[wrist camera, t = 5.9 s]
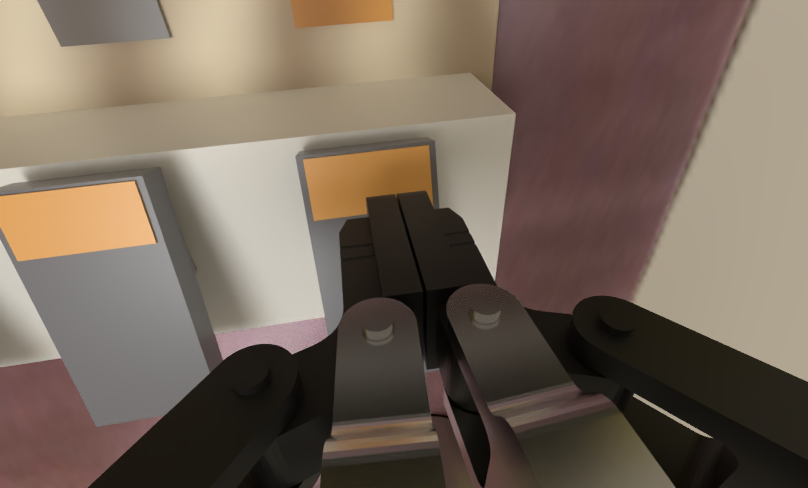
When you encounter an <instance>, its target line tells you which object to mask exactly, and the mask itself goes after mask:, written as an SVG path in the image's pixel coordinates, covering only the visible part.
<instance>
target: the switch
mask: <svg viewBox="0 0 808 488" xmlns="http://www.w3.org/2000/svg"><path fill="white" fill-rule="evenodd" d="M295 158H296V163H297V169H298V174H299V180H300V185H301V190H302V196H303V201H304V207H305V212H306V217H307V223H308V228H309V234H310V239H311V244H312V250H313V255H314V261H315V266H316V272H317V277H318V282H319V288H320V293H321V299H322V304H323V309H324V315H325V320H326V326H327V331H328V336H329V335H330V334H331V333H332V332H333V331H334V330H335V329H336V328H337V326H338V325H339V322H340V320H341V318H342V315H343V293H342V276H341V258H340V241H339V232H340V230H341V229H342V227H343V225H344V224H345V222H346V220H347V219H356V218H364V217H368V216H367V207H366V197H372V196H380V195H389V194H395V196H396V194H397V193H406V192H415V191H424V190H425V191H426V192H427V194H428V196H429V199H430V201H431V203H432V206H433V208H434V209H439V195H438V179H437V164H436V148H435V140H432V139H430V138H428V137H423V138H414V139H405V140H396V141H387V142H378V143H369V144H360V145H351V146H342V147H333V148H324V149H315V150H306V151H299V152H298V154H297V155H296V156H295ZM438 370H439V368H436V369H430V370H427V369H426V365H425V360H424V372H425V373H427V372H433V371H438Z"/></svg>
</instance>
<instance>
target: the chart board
mask: <svg viewBox="0 0 808 488" xmlns="http://www.w3.org/2000/svg"><path fill="white" fill-rule="evenodd" d="M498 10H499V0H0V117H11V116H21V115H32V114H42V113H52V112H63V111H73V110H84V109H94V108H105V107H115V106H126V105H136V104H146V103H157V102H167V101H178V100H188V99H199V98H209V97H220V96H230V95H241V94H251V93H261V92H272V91H282V90H293V89H303V88H314V87H324V86H335V85H345V84H355V83H366V82H376V81H387V80H397V79H408V78H418V77H429V76H439V75H449V74H460V73H472V74H473V75H474V76H475V77H476V78H477V79H478V80H479V81H480V82H482V83H483V84H484V85H485V86H486V87H487V88H488V89H489V90H490V91H492V79H493V68H494V56H495V45H496V33H497V21H498Z"/></svg>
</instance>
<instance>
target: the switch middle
mask: <svg viewBox="0 0 808 488" xmlns="http://www.w3.org/2000/svg"><path fill="white" fill-rule="evenodd" d="M0 240H1V242H2V244H3V246H4V248H5V249H6V251H7V253H8V255H9V257H10V259H11V261H12V263H13V265H14V267H15V269H16V271H17V273H18V275H19V277H20V279H21V281H22V283H23V284H24V286H25V288H26V290H27V292H28V294H29V296H30V298H31V300H32V302H33V304H34V306H35V308H36V310H37V312H38V314H39V316H40V318H41V320H42V321H43V323H44V325H45V327H46V329H47V331H48V333H49V335H50V337H51V339H52V341H53V343H54V345H55V347H56V349H57V351H58V353H59V355H60V356H61V358H62V360H63V362H64V364H65V366H66V368H67V370H68V372H69V374H70V376H71V378H72V380H73V382H74V384H75V386H76V388H77V390H78V391H79V393H80V395H81V397H82V399H83V401H84V403H85V405H86V407H87V409H88V411H89V413H90V415H91V417H92V419H93V421H94V423H95V425H96V427H99V426H105V425H111V424H117V423H122V422H128V421H134V420H140V419H145V418H151V417H157V416H163V415H166V414H167V413H168V412H169V411H170V410H171V409H172V408H173V407H174V406H175V405H176V404H178V403H179V402H180V401H181V400H182V399H183V398H184V397H185V396H186V395H187V394H188V393H189V392H190V391H191V390H192V389H193V388H195V387H196V386H197V385H198V384H199V383H200V382H201V381H202V380H203V379H204V378H205V377H206V376H207V375H208V374H209V373H211V372H212V371H213V370H214V369H215V368H216V367H217V366H218V365H219V364H220V363H221V362H222V361H223V359H222V356H221V353H220V350H219V347H218V344H217V341H216V338H215V334H214V331H213V328H212V325H211V322H210V319H209V316H208V313H207V310H206V307H205V303H204V300H203V297H202V294H201V291H200V288H199V285H198V282H197V279H196V276H195V273H194V269H193V266H192V263H191V260H190V257H189V254H188V251H187V248H186V245H185V242H184V238H183V235H182V232H181V229H180V226H179V223H178V220H177V217H176V214H175V211H174V207H173V204H172V201H171V198H170V195H169V192H168V189H167V186H166V183H165V180H164V177H163V173H162V170H161V167H154V168H145V169H136V170H127V171H118V172H109V173H100V174H91V175H82V176H73V177H64V178H55V179H46V180H37V181H28V182H19V183H11V184H8V185H5V186H2V187H0Z"/></svg>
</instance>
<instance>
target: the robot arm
mask: <svg viewBox="0 0 808 488" xmlns="http://www.w3.org/2000/svg"><path fill="white" fill-rule="evenodd" d="M366 207H367V216H368V217H364V218H356V219H347V220H346V222H345V224H344V225H343V227H342V229H341V230H340V232H339V241H340V258H341V276H342V293H343V315H342V318H341V320H340V322H339V325H338V326H337V328H336V329H335V330H334V331H333V332H332V333H331V334H330V335H329V336H328V337H327V338H325V339H324V340H322V341H321V342H319V343H317V344H315V345H313V346H311V347H309V348H306V349H304V350H302V351H299V352H297V353H295V354H291V353H290V352H289V351H287V350H286V349H284V348H283V347H280V346H277V345H272V344H258V345H253V346H249V347H246V348H243V349H241V350H239V351H237V352H235V353H233V354H232V355H230V356H229V357H227V358H226V359H225V360H224V361H222V362H221V363H220V364H219V365H218V366H217V367H216V368H215V369H214V370H213V371H212V372H211V373H209V374H208V375H207V376H206V377H205V378H204V379H203V380H202V381H201V382H200V383H199V384H198V385H197V386H196V387H195V388H193V389H192V390H191V391H190V392H189V393H188V394H187V395H186V396H185V397H184V398H183V399H182V400H181V401H180V402H179V403H178V404H176V405H175V406H174V407H173V408H172V409H171V410H170V411H169V412H168V413H167V414H166V415H165V416H164V417H163V418H162V419H160V420H159V421H158V422H157V423H156V424H155V425H154V426H153V427H152V428H151V429H150V430H149V431H148V432H147V433H146V434H144V435H143V436H142V437H141V438H140V439H139V440H138V441H137V442H136V443H135V444H134V445H133V446H132V447H131V448H130V449H128V450H127V451H126V452H125V453H124V454H123V455H122V456H121V457H120V458H119V459H118V460H117V461H116V462H115V463H114V464H113V465H111V466H110V467H109V468H108V469H107V470H106V471H105V472H104V473H103V474H102V475H101V476H100V477H99V478H98V479H97V480H95V481H94V482H93V483H92V484H91V485H90V486H89V487H88V488H312V487H313V486H314V484H315V483H316V481H317V480H318V478H319V476H320V474H321V478H320V488H808V382H807V381H804V380H802V379H800V378H798V377H795V376H793V375H791V374H789V373H787V372H784V371H782V370H780V369H778V368H776V367H773V366H771V365H769V364H766V363H764V362H762V361H760V360H758V359H755V358H753V357H751V356H749V355H747V354H744V353H742V352H740V351H737V350H735V349H733V348H731V347H729V346H727V345H724V344H722V343H720V342H718V341H715V340H713V339H711V338H709V337H706V336H704V335H702V334H700V333H698V332H695V331H693V330H691V329H689V328H686V327H684V326H682V325H680V324H678V323H675V322H673V321H671V320H669V319H666V318H664V317H662V316H660V315H657V314H655V313H653V312H650V311H649V310H646V309H644V308H642V307H640V306H637V305H635V304H633V303H631V302H628V301H626V300H623V299H620V298H616V297H610V296H593V297H589V298H586V299H584V300H582V301H580V302H579V303H578V304H577V305H576V307H575V308H574V311H573V314H572V315H571V314H562V313H553V312H544V311H537V310H532V309H528V308H525V307H523V306H522V304H521V302H520V301H519V300H518V299H517V298H516V297H515V296H514V295H513V294H512V293H510V292H509V291H507V290H505V289H503V288H501V287H498V286H497V285H496V283H495V281H494V279H493V277H492V275H491V273H490V271H489V269H488V267H487V265H486V263H485V261H484V259H483V257H482V255H481V253H480V251H479V249H478V247H477V245H475V241H474V239H473V237H472V235H471V234H469V230H468V228H467V226H466V224H465V222H464V220H463V218H462V217H461V216H459V215H458V214H457V213H455V212H454V211H453V210H451V209H450V208H449V207H448V208H440V209H434V208H433V206H432V203H431V201H430V199H429V196H428V194H427V192H426V191H425V190H424V191H415V192H406V193H397V194H396V196H395V194H389V195H380V196H372V197H366ZM424 360H425V365H426V369H427V370H430V369H436V368H439V370H440V373H441V377H442V381H443V401H444V405H445V408H446V411H447V414H448V417H449V418H445V417H436V416H431V413H430V406H429V399H428V393H427V386H426V379H425V372H424ZM634 393H635V394H637V395H639V396H640V397H642V398H644V399H646V400H648V401H649V402H651V403H653V404H655V405H656V406H658V407H660V408H662V409H664V410H665V411H667V412H669V413H670V414H672V415H674V416H676V417H678V418H679V419H681V420H683V421H685V422H686V423H689V424H690V425H692V426H694V427H695V428H697V429H699V430H701V431H702V432H704V433H706V434H708V435H709V436H711V437H713V438H709V437H705V436H702V435H700V434H698V433H696V432H694V431H692V430H690V429H689V428H687V427H685V426H683V425H682V424H680V423H678V422H676V421H675V420H673V419H671V418H670V417H668V416H666V415H664V414H662V413H661V412H659V411H657V410H656V409H654V408H652V407H650V406H649V405H647V404H645V403H643V402H642V401H640V400H638V399H636V398H635V397H633V395H634Z"/></svg>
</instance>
